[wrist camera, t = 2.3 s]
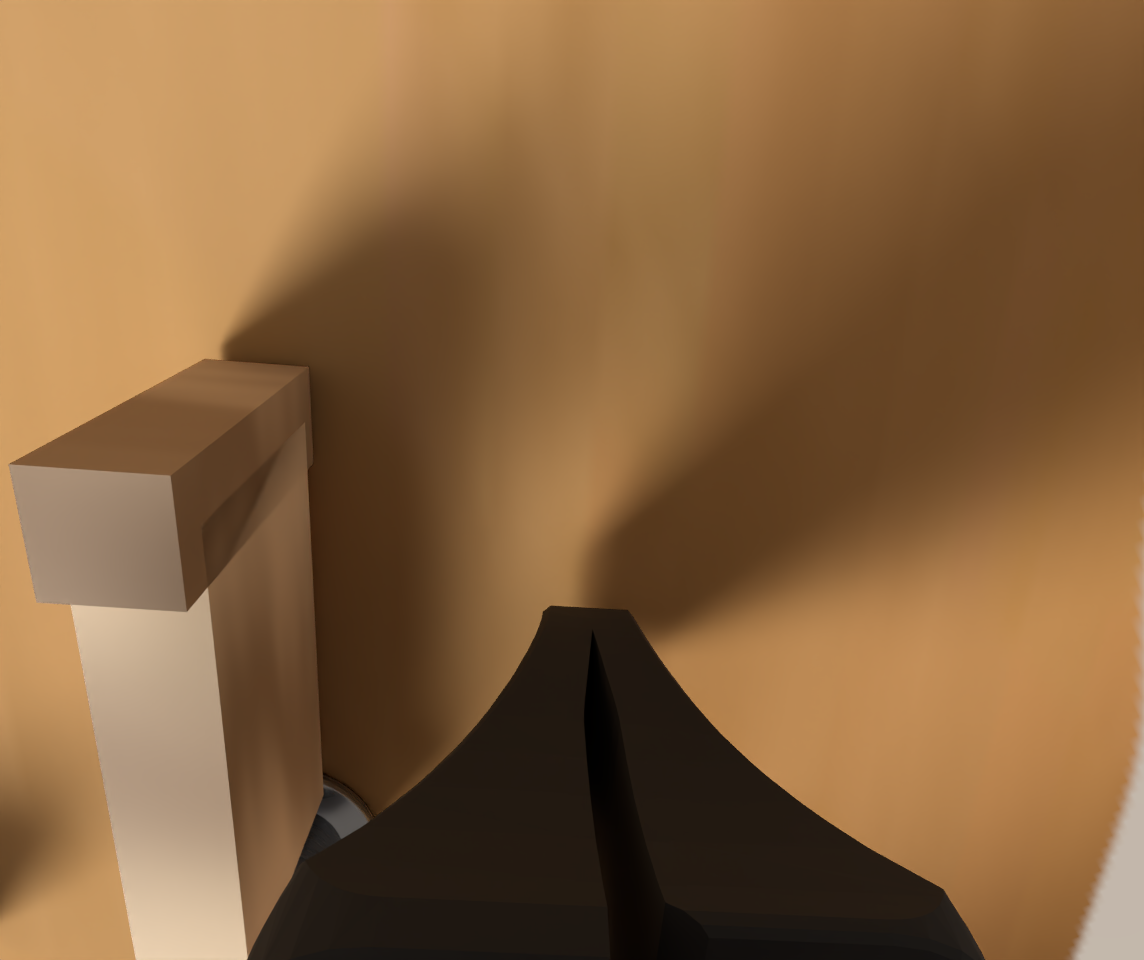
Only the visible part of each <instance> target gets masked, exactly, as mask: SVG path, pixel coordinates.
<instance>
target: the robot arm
mask: <svg viewBox="0 0 1144 960" xmlns="http://www.w3.org/2000/svg"><path fill="white" fill-rule="evenodd" d="M247 960H985V959H984V956H983V954H982V952H981V951H980V949H979V947H978V945H977V943H976V942H975V940H974V938H973V936H972V934H971V933H970V931H969V929H968V927H967V926H966V924H965V923H964V921H963V920H962V918H961V917H960V915H959V914H958V912H957V910H956V909H955V907H954V906H953V904H952V903H951V901H950V899H949V898H948V896H947V894H946V893H945V891H944V890H943V889H942V888H940V887H938V886H936V885H935V884H933V883H931V882H929V881H927V880H926V879H924V878H922V877H920V876H918V875H916V874H915V873H913V872H911V871H909V870H907V869H906V868H904V867H902V866H900V865H898V864H896V863H895V862H893V861H891V860H889V859H887V858H886V857H884V856H882V855H880V854H878V853H876V852H875V851H873V850H871V849H869V848H868V847H866V846H865V845H863V844H861V843H860V842H858V841H857V840H855V839H854V838H852V837H851V836H849V835H847V834H846V833H844V832H843V831H841V830H840V829H838V828H837V827H835V826H834V825H832V824H830V823H829V822H827V821H826V820H824V819H823V818H822V817H820V816H819V815H817V814H816V813H815V812H813V811H812V810H810V809H809V808H807V807H806V806H805V805H803V804H802V803H801V802H799V801H798V800H797V799H795V798H794V797H793V796H792V795H790V794H789V793H788V792H786V791H785V790H784V789H783V788H781V787H780V786H779V785H777V784H776V783H775V782H774V781H772V780H771V779H770V778H769V777H767V776H766V775H765V774H764V773H763V772H761V771H760V770H759V769H758V768H757V767H756V766H754V765H753V764H752V763H751V762H750V761H749V760H748V759H747V758H746V757H745V756H744V755H742V754H741V753H740V752H739V751H738V750H737V749H736V748H735V747H734V746H733V745H732V744H731V743H730V742H729V741H728V740H727V739H726V738H724V737H723V736H722V735H721V734H720V732H719V731H718V730H717V729H716V728H715V727H714V726H713V725H712V724H711V723H710V722H709V720H708V719H707V718H706V717H705V716H704V715H703V713H702V712H701V711H700V710H699V709H698V708H697V707H696V705H695V704H694V703H693V702H692V701H691V699H690V698H689V697H688V696H687V694H686V693H685V692H684V691H683V689H682V688H681V687H680V685H679V684H678V683H677V681H676V680H675V679H674V677H673V676H672V675H671V673H670V672H669V671H668V669H667V668H666V667H665V665H664V664H663V662H662V661H661V660H660V658H659V657H658V655H657V654H656V652H655V651H654V649H653V648H652V646H651V645H650V643H649V642H648V640H647V639H646V637H645V635H644V634H643V632H642V631H641V629H640V627H639V626H638V624H637V622H636V620H635V619H634V617H633V616H632V615H631V614H630V612H629V611H628V610H616V609H599V608H581V607H564V606H550V607H548V608H547V609H546V610H545V611H543V615H542V620H541V622H540V625H539V628H538V631H537V633H536V635H535V637H534V639H533V641H532V643H531V645H530V647H529V649H528V651H527V653H526V655H525V656H524V658H523V660H522V661H521V663H520V665H519V666H518V668H517V670H516V672H515V673H514V675H513V676H512V678H511V680H510V681H509V683H508V684H507V685H506V687H505V688H504V689H503V691H502V692H501V694H500V695H499V696H498V698H497V699H496V701H495V702H494V703H493V705H492V706H491V708H490V709H489V710H488V712H487V713H486V714H485V715H484V716H483V718H482V719H481V720H480V721H479V723H478V724H477V725H476V726H475V727H474V728H473V730H472V731H471V732H470V733H469V734H468V735H467V736H466V737H465V739H464V740H463V741H462V742H461V743H460V744H459V745H458V746H457V747H456V748H455V749H454V750H453V751H452V752H451V753H450V754H449V755H448V756H447V757H446V758H445V759H444V760H443V761H442V762H441V763H440V764H439V765H438V766H437V767H436V768H435V769H434V770H433V771H432V772H431V773H429V774H428V775H427V776H426V777H425V778H424V779H423V780H422V781H421V782H419V783H418V784H417V785H416V786H415V787H414V788H412V789H411V790H410V791H408V792H407V793H406V794H405V795H403V796H402V797H401V798H399V799H398V800H397V801H395V802H394V803H393V804H392V805H390V806H389V807H388V808H386V809H385V810H384V811H383V812H381V813H380V814H379V815H377V816H376V817H375V818H374V819H372V820H371V821H369V822H368V823H366V824H365V825H364V826H362V827H361V828H359V829H357V830H356V831H354V832H352V833H351V834H349V835H347V836H346V837H344V838H342V839H341V840H339V841H337V842H336V843H334V844H332V845H331V846H329V847H327V848H326V849H324V850H323V851H321V852H319V853H317V854H316V855H314V856H312V857H310V858H308V859H307V860H305V861H304V862H302V863H301V864H300V866H299V867H298V869H297V870H296V872H295V873H294V875H293V877H292V878H291V880H290V881H289V883H288V885H287V886H286V888H285V889H284V891H283V893H282V894H281V896H280V897H279V899H278V901H277V903H276V904H275V906H274V908H273V910H272V911H271V913H270V915H269V917H268V919H267V920H266V922H265V924H264V926H263V928H262V930H261V931H260V933H259V935H258V937H257V939H256V941H255V943H254V945H253V947H252V949H251V952H250V954H249V956H248V958H247Z"/></svg>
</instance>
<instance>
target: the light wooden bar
mask: <svg viewBox="0 0 1144 960" xmlns="http://www.w3.org/2000/svg"><path fill="white" fill-rule="evenodd" d="M312 464H313V443H312V422H311V400H310V379H309V367H304V366H291V365H278V364H264V363H251V362H238V361H225V360H211V359H204V360H202V361H200V362H198V363H196V364H194V365H192V366H191V367H189V368H187V369H185V370H183V371H181V372H179V373H178V374H176V375H174V376H172V377H170V378H168V379H166V380H165V381H163V382H161V383H159V384H157V385H155V386H153V387H152V388H150V389H148V390H146V391H144V392H142V393H140V394H139V395H137V396H135V397H133V398H131V399H129V400H127V401H125V402H124V403H122V404H120V405H118V406H116V407H114V408H112V409H111V410H109V411H107V412H105V413H103V414H101V415H99V416H98V417H96V418H94V419H92V420H90V421H88V422H86V423H85V424H83V425H81V426H79V427H77V428H75V429H73V430H72V431H70V432H68V433H66V434H64V435H62V436H60V437H59V438H57V439H55V440H53V441H51V442H49V443H47V444H46V445H44V446H42V447H40V448H38V449H36V450H34V451H32V452H31V453H29V454H27V455H25V456H23V457H21V458H19V459H18V460H16V461H14V462H12V463H10V464H9V469H10V474H11V479H12V484H13V489H14V493H15V498H16V503H17V508H18V513H19V518H20V523H21V528H22V533H23V538H24V543H25V548H26V553H27V558H28V563H29V568H30V573H31V578H32V582H33V587H34V592H35V597H36V602H37V603H52V604H67V605H71V609H72V614H73V620H74V625H75V631H76V636H77V642H78V647H79V653H80V658H81V663H82V669H83V674H84V680H85V685H86V691H87V696H88V702H89V707H90V712H91V718H92V723H93V729H94V734H95V740H96V745H97V750H98V756H99V761H100V767H101V772H102V778H103V783H104V789H105V794H106V799H107V805H108V810H109V816H110V821H111V827H112V832H113V838H114V843H115V848H116V854H117V859H118V865H119V870H120V876H121V881H122V887H123V892H124V897H125V903H126V908H127V914H128V919H129V925H130V930H131V936H132V941H133V946H134V952H135V957H136V960H247V958H248V956H249V954H250V952H251V949H252V947H253V945H254V943H255V941H256V939H257V937H258V935H259V933H260V931H261V930H262V928H263V926H264V924H265V922H266V920H267V919H268V917H269V915H270V913H271V911H272V910H273V908H274V906H275V904H276V903H277V901H278V899H279V897H280V896H281V894H282V893H283V891H284V889H285V888H286V886H287V885H288V883H289V881H290V880H291V878H292V875H293V873H294V870H295V868H296V865H297V863H298V860H299V857H300V855H301V852H302V850H303V847H304V844H305V842H306V839H307V837H308V834H309V831H310V829H311V826H312V824H313V821H314V818H315V816H316V813H317V811H318V808H319V805H320V803H321V800H322V798H323V795H324V792H323V772H322V752H321V732H320V712H319V692H318V672H317V652H316V632H315V612H314V592H313V572H312V552H311V532H310V512H309V492H308V472H307V470H308V469H309V468H310V466H311V465H312Z"/></svg>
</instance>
